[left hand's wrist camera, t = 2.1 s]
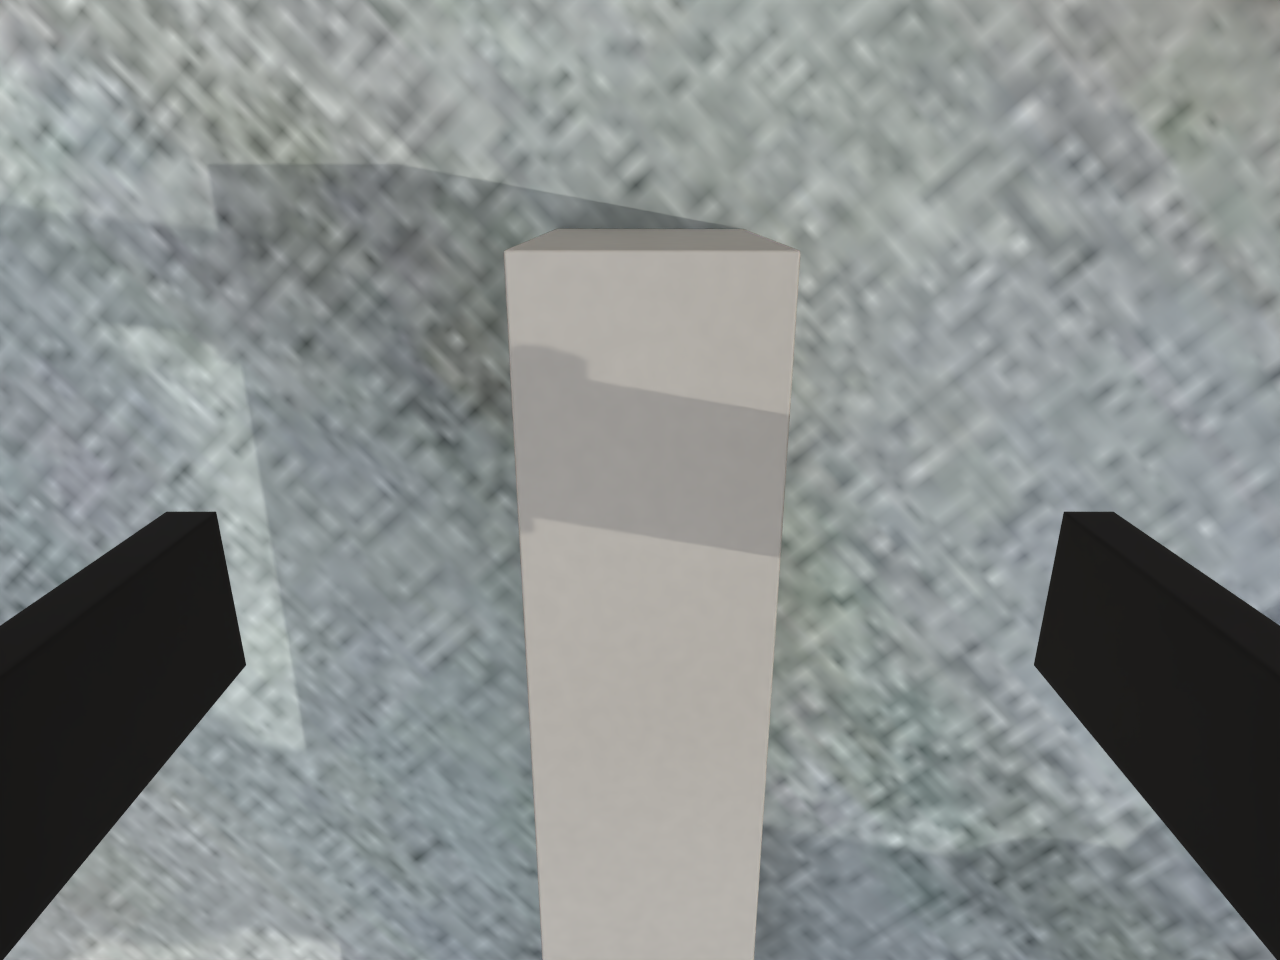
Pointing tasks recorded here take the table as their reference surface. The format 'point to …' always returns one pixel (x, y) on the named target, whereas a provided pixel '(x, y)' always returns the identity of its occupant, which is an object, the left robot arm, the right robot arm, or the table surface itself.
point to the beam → (650, 575)
